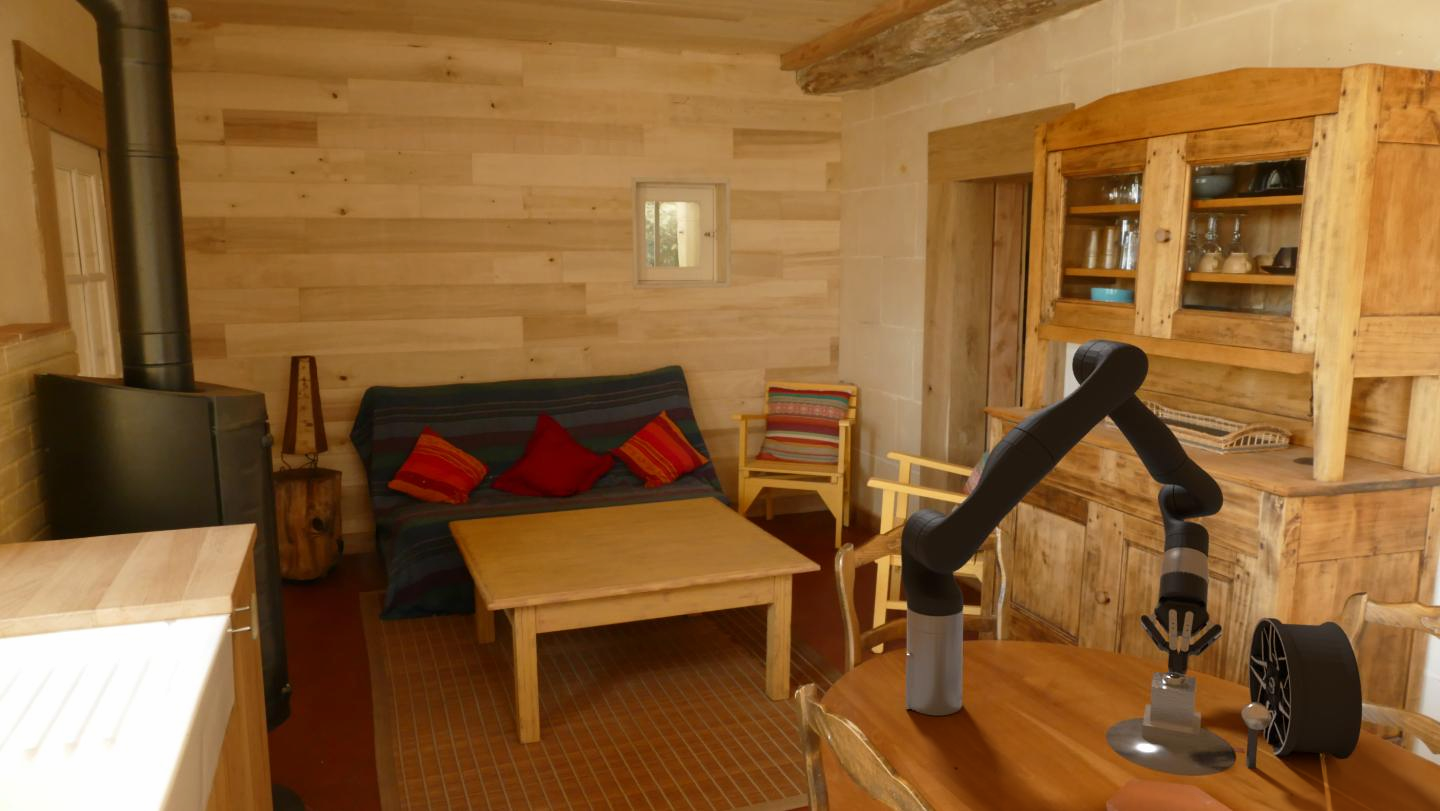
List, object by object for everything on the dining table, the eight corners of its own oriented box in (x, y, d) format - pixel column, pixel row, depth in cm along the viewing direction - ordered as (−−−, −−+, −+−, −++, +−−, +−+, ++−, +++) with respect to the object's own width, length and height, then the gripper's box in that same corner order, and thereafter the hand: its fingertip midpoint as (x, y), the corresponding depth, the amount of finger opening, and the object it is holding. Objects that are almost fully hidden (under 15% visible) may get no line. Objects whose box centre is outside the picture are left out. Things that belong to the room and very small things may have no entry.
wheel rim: (1245, 717, 165) (1252, 599, 162) (1307, 721, 163) (1315, 602, 160) (1286, 780, 146) (1294, 647, 143) (1357, 786, 144) (1367, 651, 141)
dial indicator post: (1240, 779, 146) (1244, 705, 145) (1234, 768, 149) (1238, 695, 148) (1267, 781, 146) (1272, 706, 144) (1260, 770, 149) (1265, 697, 147)
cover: (1141, 737, 157) (1144, 680, 156) (1145, 715, 164) (1147, 661, 163) (1199, 747, 153) (1202, 689, 152) (1200, 724, 160) (1203, 669, 159)
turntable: (1116, 772, 148) (1116, 769, 148) (1097, 716, 165) (1097, 713, 165) (1262, 784, 144) (1262, 780, 144) (1227, 725, 161) (1227, 722, 161)
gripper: (1141, 565, 175) (1132, 659, 166) (1227, 574, 169) (1222, 672, 160) (1143, 585, 181) (1134, 677, 172) (1226, 595, 175) (1221, 691, 166)
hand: (1177, 675), depth 166 cm, fingers closed
